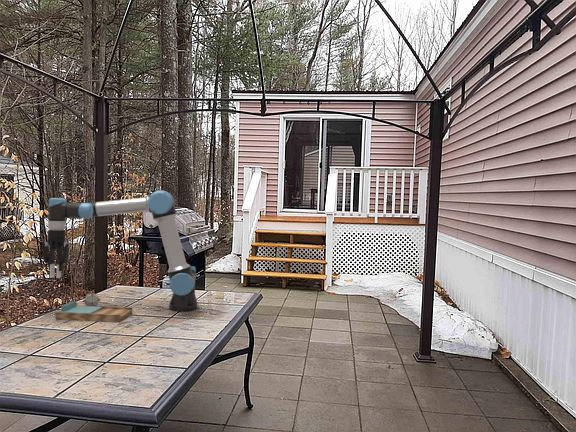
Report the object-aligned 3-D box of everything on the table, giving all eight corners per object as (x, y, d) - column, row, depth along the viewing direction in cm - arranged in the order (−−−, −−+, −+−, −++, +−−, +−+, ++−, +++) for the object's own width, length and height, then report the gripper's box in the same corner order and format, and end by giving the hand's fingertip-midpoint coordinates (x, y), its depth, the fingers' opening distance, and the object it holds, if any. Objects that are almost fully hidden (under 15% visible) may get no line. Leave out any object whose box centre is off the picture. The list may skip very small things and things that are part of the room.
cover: (102, 308, 209) (102, 301, 209) (89, 314, 197) (89, 307, 196) (74, 307, 210) (74, 300, 209) (60, 313, 197) (60, 306, 197)
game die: (93, 315, 219) (94, 302, 213) (78, 309, 219) (79, 296, 214) (103, 304, 226) (104, 291, 221) (89, 297, 227) (90, 285, 221)
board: (132, 314, 210) (132, 307, 210) (119, 322, 195) (120, 315, 195) (72, 311, 211) (72, 305, 211) (55, 319, 196) (55, 312, 196)
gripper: (76, 229, 206) (75, 276, 207) (45, 228, 206) (44, 275, 207) (68, 230, 199) (67, 279, 199) (36, 229, 199) (34, 278, 199)
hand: (55, 277), depth 203 cm, fingers open, 3 cm apart
